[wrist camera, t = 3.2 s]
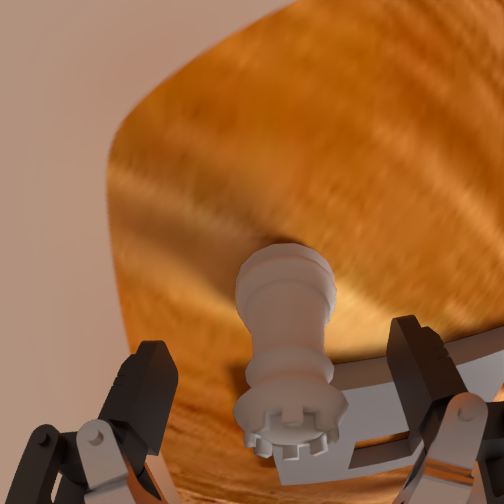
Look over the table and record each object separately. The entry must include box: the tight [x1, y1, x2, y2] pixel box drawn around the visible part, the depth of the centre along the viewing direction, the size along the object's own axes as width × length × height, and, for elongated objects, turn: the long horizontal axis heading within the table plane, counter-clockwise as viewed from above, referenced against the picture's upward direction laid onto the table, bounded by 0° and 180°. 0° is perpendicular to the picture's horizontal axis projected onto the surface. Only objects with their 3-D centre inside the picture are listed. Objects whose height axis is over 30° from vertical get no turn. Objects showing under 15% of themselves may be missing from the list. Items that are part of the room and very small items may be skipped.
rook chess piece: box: [233, 243, 349, 461], centre depth 10 cm, size 4×4×8 cm
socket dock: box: [272, 326, 504, 485], centre depth 18 cm, size 18×16×2 cm
